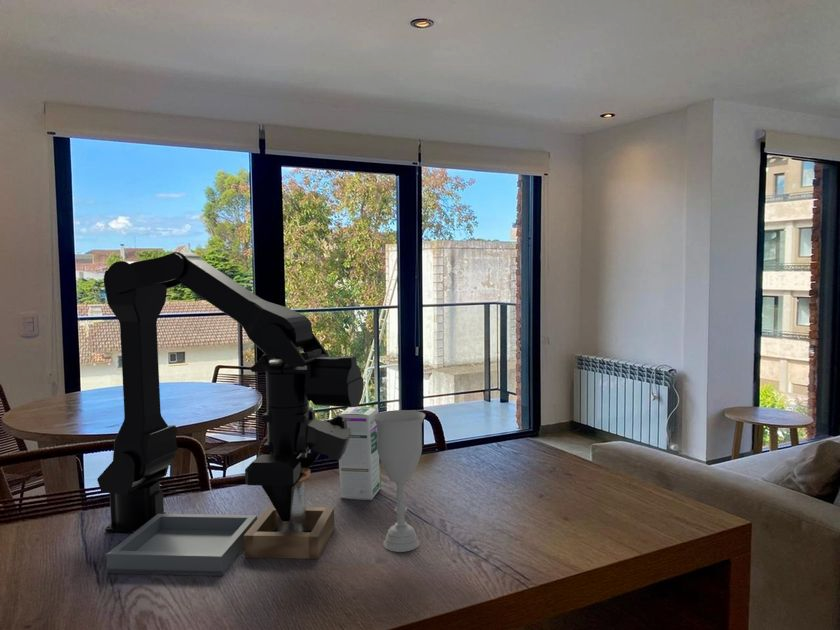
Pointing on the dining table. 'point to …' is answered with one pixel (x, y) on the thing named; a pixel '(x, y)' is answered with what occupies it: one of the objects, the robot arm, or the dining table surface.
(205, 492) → the dining table surface
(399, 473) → the chalice
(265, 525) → the square wooden frame
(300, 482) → the glass jar
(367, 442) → the syrup box
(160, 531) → the tray
